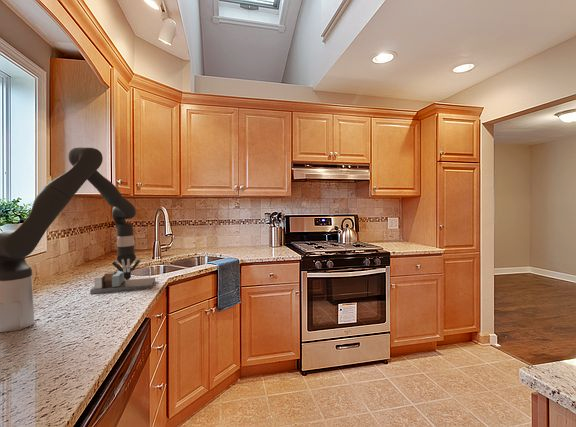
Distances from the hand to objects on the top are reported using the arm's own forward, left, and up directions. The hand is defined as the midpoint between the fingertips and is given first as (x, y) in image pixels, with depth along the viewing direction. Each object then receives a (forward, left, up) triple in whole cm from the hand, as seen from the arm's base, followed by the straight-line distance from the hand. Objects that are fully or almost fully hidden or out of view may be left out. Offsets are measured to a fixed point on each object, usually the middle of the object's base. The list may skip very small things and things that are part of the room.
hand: (127, 279), depth 151 cm
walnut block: (0, +8, -2) cm, 8 cm away
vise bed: (0, +1, -4) cm, 4 cm away
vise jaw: (0, +4, -2) cm, 4 cm away
